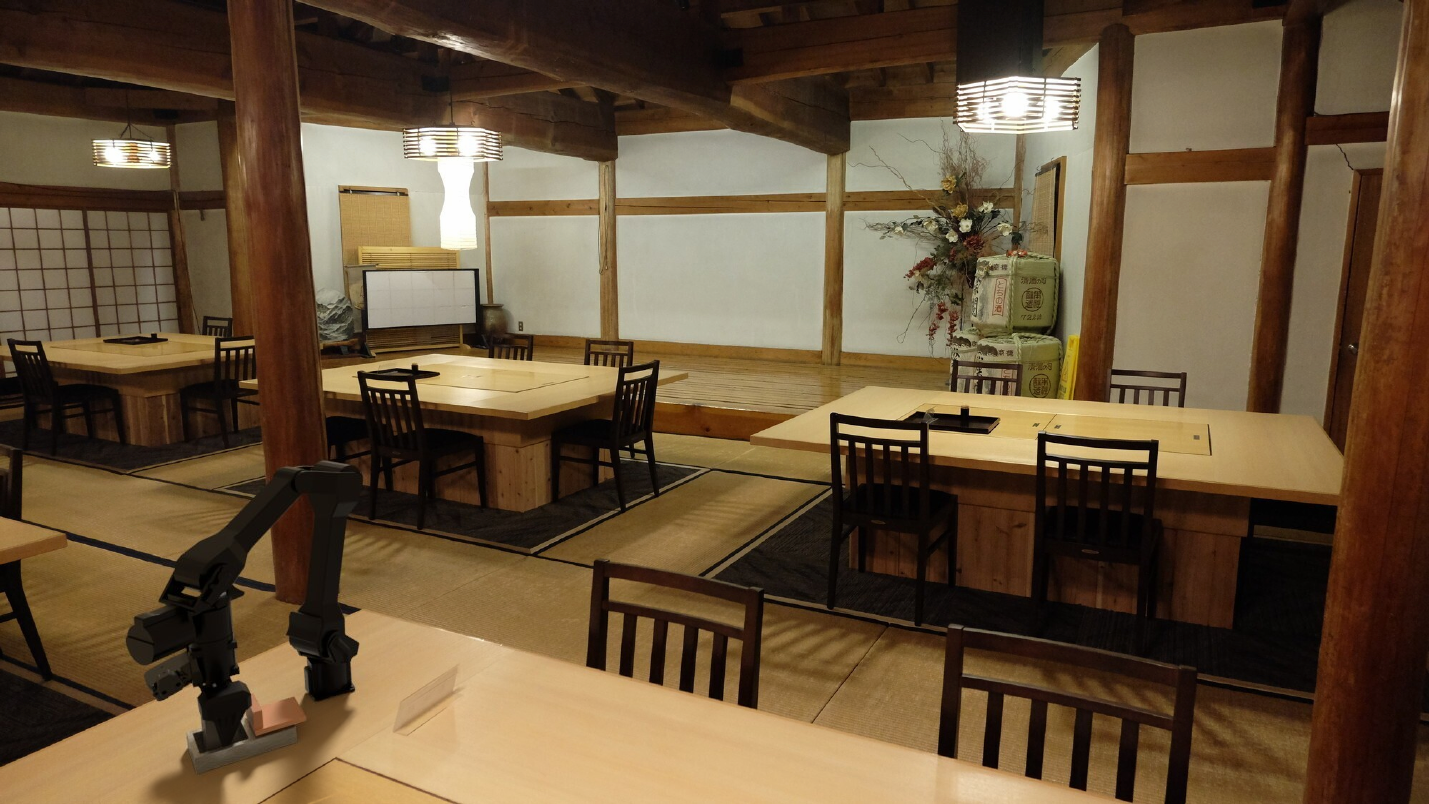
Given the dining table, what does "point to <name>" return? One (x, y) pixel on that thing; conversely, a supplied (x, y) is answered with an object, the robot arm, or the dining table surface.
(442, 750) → the dining table surface
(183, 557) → the robot arm
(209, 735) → the plug
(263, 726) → the salmon l-shaped block
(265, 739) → the grey rectangular box
